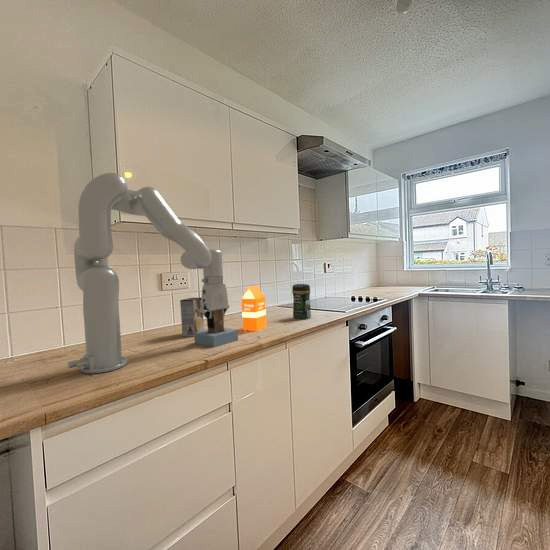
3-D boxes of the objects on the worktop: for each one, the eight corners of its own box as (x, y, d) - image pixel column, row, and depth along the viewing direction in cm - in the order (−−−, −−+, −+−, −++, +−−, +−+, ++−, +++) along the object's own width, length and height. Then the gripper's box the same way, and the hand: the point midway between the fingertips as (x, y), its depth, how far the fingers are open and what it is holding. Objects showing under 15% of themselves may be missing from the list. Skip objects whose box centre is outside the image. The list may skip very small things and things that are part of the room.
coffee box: (191, 331, 139) (189, 297, 139) (204, 331, 138) (202, 297, 138) (181, 336, 130) (179, 299, 130) (195, 336, 129) (193, 299, 129)
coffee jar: (290, 318, 164) (289, 284, 163) (300, 316, 169) (298, 283, 168) (304, 320, 157) (302, 284, 156) (313, 317, 162) (312, 283, 162)
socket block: (214, 347, 111) (213, 336, 111) (195, 342, 118) (194, 332, 118) (238, 340, 120) (237, 330, 120) (218, 336, 128) (218, 327, 127)
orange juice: (266, 327, 142) (264, 285, 142) (257, 331, 134) (255, 286, 134) (252, 326, 146) (250, 285, 145) (242, 330, 138) (240, 287, 137)
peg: (215, 340, 116) (213, 304, 116) (208, 339, 119) (206, 303, 118) (224, 338, 119) (222, 303, 119) (217, 336, 122) (215, 302, 122)
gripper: (201, 282, 109) (204, 332, 110) (235, 279, 122) (237, 324, 123) (189, 282, 114) (192, 330, 115) (223, 279, 127) (225, 322, 128)
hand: (215, 326), depth 119 cm, fingers closed on peg, 4 cm apart
